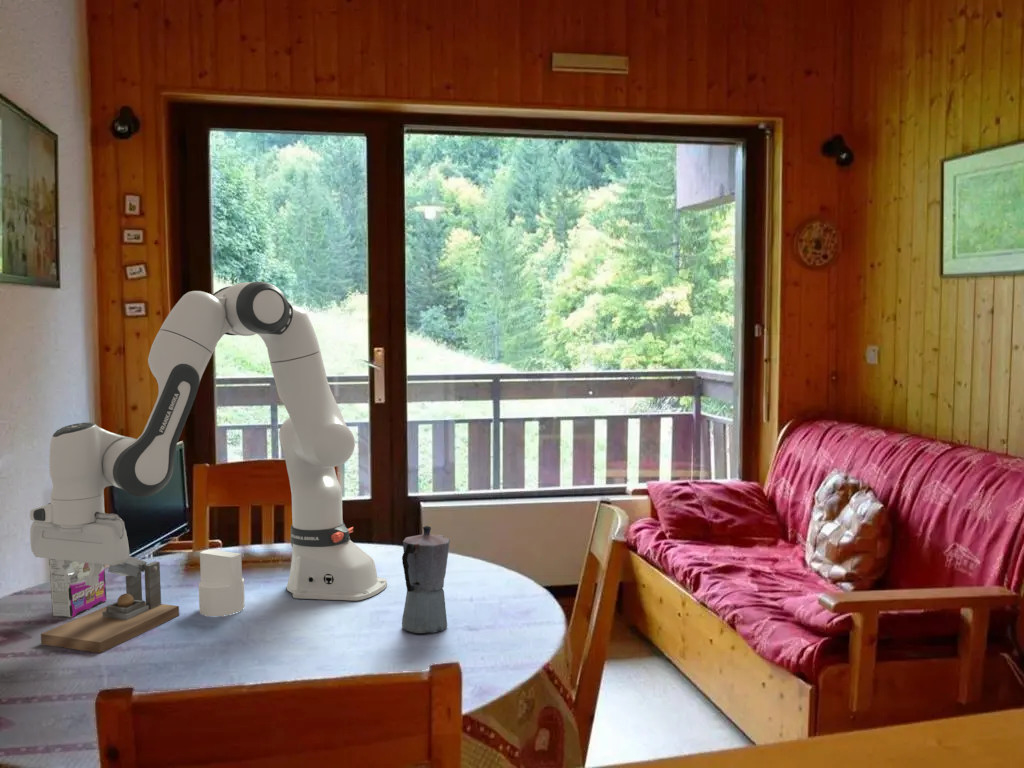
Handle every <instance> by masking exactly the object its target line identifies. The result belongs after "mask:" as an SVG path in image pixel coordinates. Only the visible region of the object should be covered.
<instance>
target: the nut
mask: <svg viewBox="0 0 1024 768" xmlns="http://www.w3.org/2000/svg"><path fill="white" fill-rule="evenodd" d="M116 602H117V603H118V606H119V607H124V608H127V607H129V606H132V605H133V603H134V599H133V597H132V595H130V594H126V593H123V594H121V595H120V596H119V597H118V598H117V601H116Z"/></svg>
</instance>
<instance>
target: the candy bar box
mask: <svg viewBox="0 0 1024 768" xmlns="http://www.w3.org/2000/svg"><path fill="white" fill-rule="evenodd" d="M71 565H72V567H73V569H74V572H78V576H77V577H78V581H77V582H74V583H65V581H64V574H63V572H62V570H61V568H60V567H59V565H58V559H49V558H48V567H49V578H50V579H49V580H50V598H51V610H52V611H51V612H52V613H51V614H52V617H55V618H74V617H77V616H78V615H81V614H82V613H84V612H87V611H88V610H90V609H93V608H94V607H96V606H98V605H101V604H103V603H104V602H107V587H106V586H107V585H106V569H105V568H106V567H105V565H104V564H103V567H102V569H101V571H100V573H99V575H98V579H99V582H98V584H97V585H94V586H89V585H86V584H85V582H86V581H85V576H88V575H89V573H90V571H91V568H89V564H88V563H86V562H77V561H73V562H72V563H71Z"/></svg>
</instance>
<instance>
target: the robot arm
mask: <svg viewBox="0 0 1024 768" xmlns="http://www.w3.org/2000/svg"><path fill="white" fill-rule="evenodd" d="M224 335H226V336H243V337H244V336H245V337H248V336H249V337H250V336H255V335H257V336H259V337H260V338H261V339H262V341H263V342H264V345H265V347H266V349H267V355H268V358H269V364H270V367H271V370H272V371H271V372H272V375H273V379H274V383H275V388H276V391H277V395H278V398H279V400H281V401H282V404H283V405H284V407H285V409H286V412H287V414H288V416H289V417H288V418H287V419H285V420H284V421H283V423H282V424H281V426H280V429H279V433H278V438H279V443H280V445H281V448H282V449H283V454H284V460H285V465H286V470H287V475H288V480H289V486H290V492H291V514H292V515H291V518H292V524H291V526H290V545H291V548H292V550H291V551H292V552H291V562H290V570H289V577H288V581H287V584H286V590H287V591H288V592H289V593H291V594H292V597H293V598H294V599H302V600H303V599H304V600H305V599H307V600H331V601H362V600H365V599H368V598H371V597H373V596H376V595H377V594H379V593H382V592H383V590H384V589H386V587H388V582H387V578H384V577H378V572H377V566H376V563H375V561H374V559H373V558H372V556H370V554H368V553H367V552H366V551H364V550H363V548H360V547H359V546H358V545H357V544H355V542H353V541H352V540H351V537H350V534H351V533H353V532H354V526H352V527H349V528H347V526H346V524H345V522H344V520H343V491H342V486H341V484H340V481H339V480H338V477H337V473H336V469H335V467H339V466H341V465H343V464H345V463H346V462H348V461H349V459H351V457H352V455H353V453H354V451H355V445H356V443H355V442H356V441H355V436H354V434H353V433H352V431H351V430H350V428H349V427H348V425H347V423H346V422H345V420H344V418H343V414H342V411H341V410H340V408H339V405H338V403H337V401H336V398H335V396H334V395H333V392H332V390H331V387H330V384H329V380H328V377H327V373H326V369H325V364H324V360H323V357H322V351H321V349H320V344H319V341H318V337H317V335H316V331H315V329H314V327H313V324H312V322H311V319H310V318H309V315H308V314H307V311H306V310H304V309H303V308H301V307H300V306H295V305H292V304H291V303H290V302H289V301H288V299H287V297H286V296H285V294H284V292H283V291H282V290H281V289H280V288H279V287H277V286H276V285H274V284H273V283H269V282H265V281H253V282H252V281H248V282H247V281H246V282H239V283H236V284H234V285H230V286H225V287H223V288H220V289H219V290H217V291H215V292H214V293H212V294H211V293H210V292H209V293H208V292H205V291H202V290H192V291H188V292H186V293H185V294H183V295H182V296H181V298H180V299H179V300H178V301H177V303H175V305H174V306H173V308H172V309H171V310H170V312H169V313H168V315H167V316H166V318H165V319H164V321H163V323H162V324H161V327H160V329H159V331H158V332H157V334H156V336H155V338H154V339H153V342H152V344H151V347H150V350H149V354H148V358H147V363H148V367H149V369H150V372H151V373H152V375H153V377H154V378H155V379H156V382H157V385H158V393H157V394H158V395H157V398H156V401H155V402H154V405H153V408H152V410H151V413H150V415H149V417H148V420H147V422H146V424H145V426H144V429H143V431H142V433H141V434H140V436H138V438H135V437H130V436H125V435H121V434H118V433H115V432H111V431H109V430H106V429H104V428H102V427H100V426H98V425H97V424H96V423H94V422H81V423H80V422H79V423H77V422H76V423H73V424H70V425H69V424H68V425H65V426H63V427H60V428H58V429H57V430H56V431H55V432H54V433H53V434H52V436H51V439H50V445H49V455H48V456H49V458H48V459H49V464H48V465H49V477H50V479H51V483H52V488H51V489H52V490H51V493H50V503H48V504H45V505H42V506H38V507H36V508H33V509H31V510H29V517H30V520H31V521H32V523H31V525H30V536H29V537H30V549H31V552H32V554H33V556H35V558H40V559H48V560H49V559H58V565H59V567H60V568H61V570H62V572H63V574H64V581H65V583H74V582H77V581H78V577H77V576H78V572H74V569H73V567H72V565H71V563H72V562H73V561H77V562H86V563H88V564H89V568H91V571H90V573H89V575H88V576H85V581H86V582H85V584H86V585H89V586H94V585H97V584H98V582H99V579H98V575H99V573H100V571H101V569H102V567H103V564H104V566H110V565H117V564H120V563H123V562H125V561H126V560H127V559H128V557H129V556H130V547H129V540H128V536H127V535H128V534H127V530H126V525H125V521H124V520H123V519H122V518H121V517H120V516H119V515H118V514H116V513H106V512H105V495H104V492H105V491H104V490H105V489H106V488H107V487H112V486H114V487H115V488H118V489H121V490H122V491H124V492H125V493H128V494H129V495H132V496H134V497H140V498H145V497H150V496H153V495H156V494H157V493H159V492H161V491H162V490H163V489H164V488H165V487H166V486H167V485H168V484H169V482H170V481H171V479H172V476H173V473H174V466H175V455H176V450H177V445H178V442H179V439H180V437H181V435H182V432H183V429H184V427H185V425H186V422H187V420H188V417H189V415H190V413H191V410H192V407H193V404H194V402H195V399H196V397H197V393H198V390H199V387H200V383H201V379H202V378H203V374H204V372H205V370H206V368H207V366H208V364H209V362H210V359H211V358H212V355H213V353H214V352H215V349H216V347H217V345H218V343H219V341H220V340H221V338H223V336H224Z"/></svg>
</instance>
